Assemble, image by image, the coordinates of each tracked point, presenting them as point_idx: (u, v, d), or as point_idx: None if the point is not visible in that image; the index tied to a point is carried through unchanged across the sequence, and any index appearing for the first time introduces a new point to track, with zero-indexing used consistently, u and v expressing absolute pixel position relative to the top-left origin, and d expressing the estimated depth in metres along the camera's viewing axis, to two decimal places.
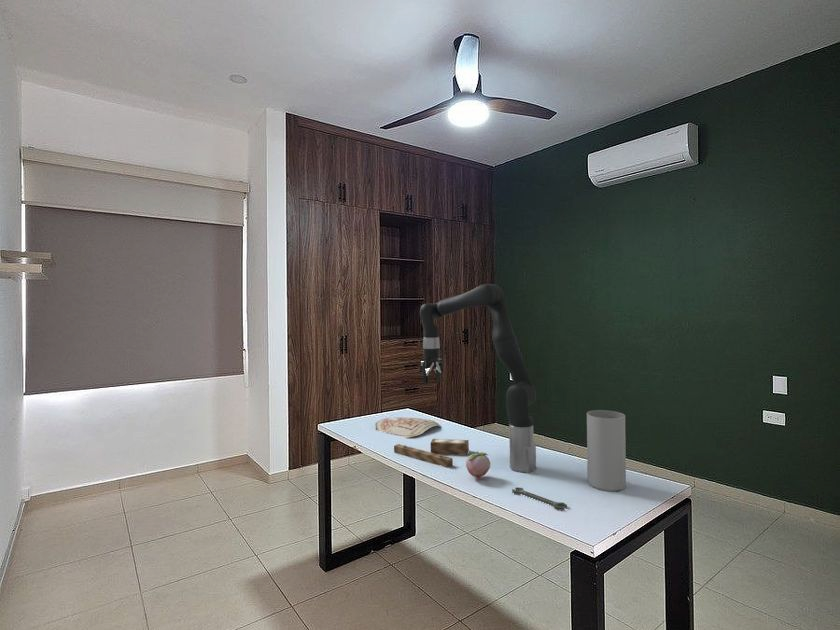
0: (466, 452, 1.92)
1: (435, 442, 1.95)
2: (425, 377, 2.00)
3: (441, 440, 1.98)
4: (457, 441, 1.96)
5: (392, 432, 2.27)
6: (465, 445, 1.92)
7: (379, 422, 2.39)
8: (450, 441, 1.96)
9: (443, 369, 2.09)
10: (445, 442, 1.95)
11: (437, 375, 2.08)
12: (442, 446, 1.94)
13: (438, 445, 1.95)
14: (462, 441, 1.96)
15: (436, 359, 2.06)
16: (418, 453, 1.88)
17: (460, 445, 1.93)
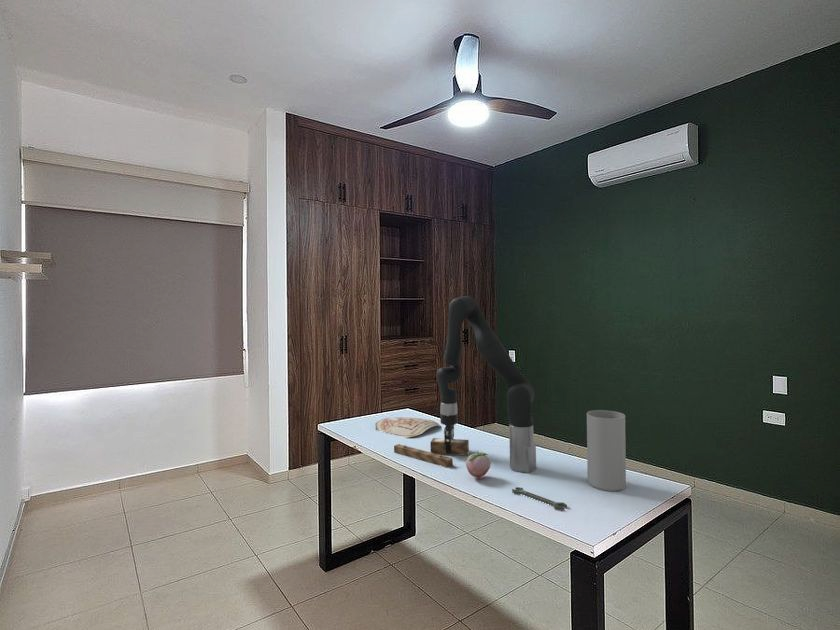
0: (466, 452, 1.92)
1: (435, 442, 1.96)
2: None
3: (441, 439, 1.98)
4: (457, 441, 1.96)
5: (392, 432, 2.27)
6: (465, 445, 1.92)
7: (379, 422, 2.39)
8: None
9: (444, 443, 1.91)
10: None
11: None
12: (442, 445, 1.94)
13: (438, 444, 1.95)
14: (462, 441, 1.96)
15: None
16: (418, 453, 1.88)
17: (460, 445, 1.93)
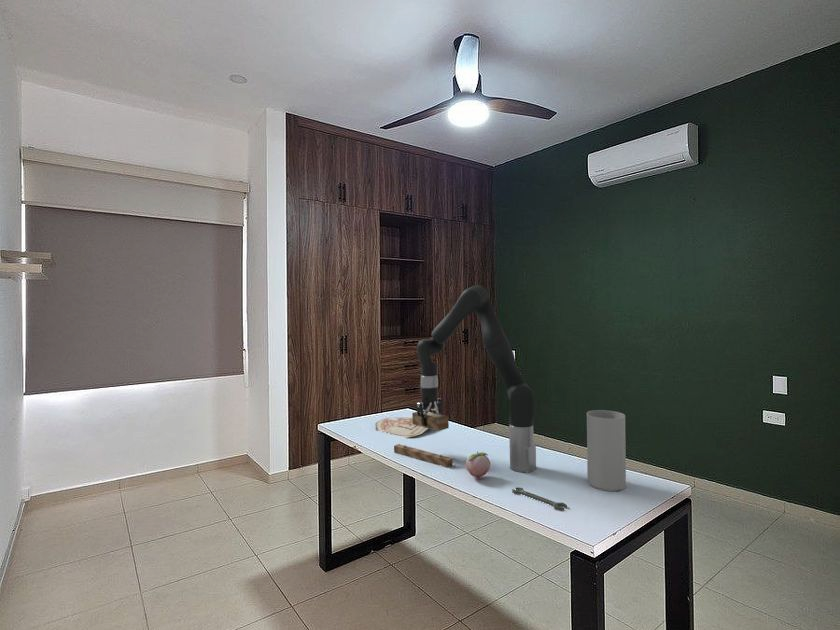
0: (437, 427, 1.85)
1: (416, 413, 1.95)
2: None
3: (424, 412, 1.96)
4: (435, 415, 1.90)
5: (392, 432, 2.27)
6: (437, 419, 1.85)
7: (379, 422, 2.39)
8: (429, 414, 1.92)
9: (417, 414, 1.89)
10: None
11: None
12: (420, 417, 1.93)
13: (417, 415, 1.94)
14: (439, 416, 1.89)
15: None
16: (418, 453, 1.88)
17: (433, 419, 1.87)
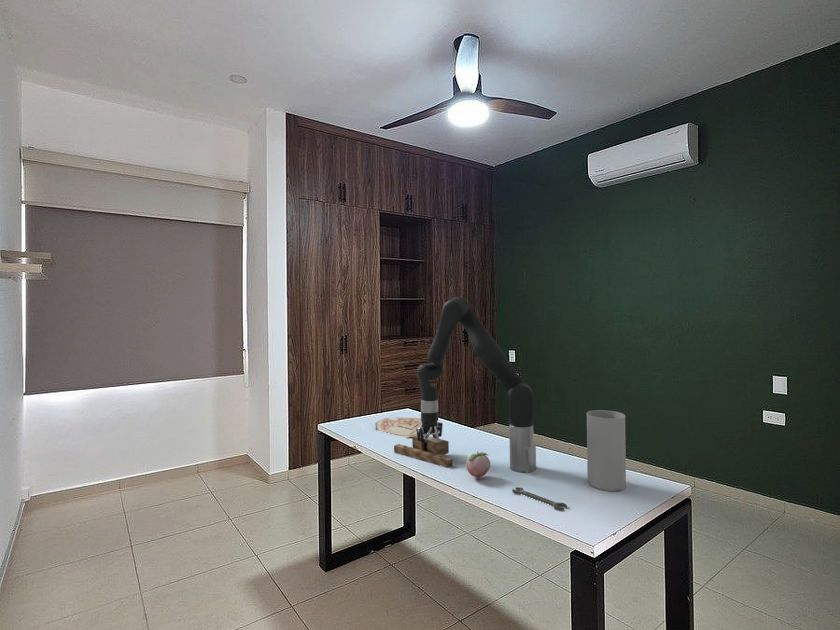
0: (438, 452, 1.85)
1: (416, 437, 1.95)
2: None
3: None
4: (435, 440, 1.90)
5: (392, 432, 2.27)
6: (437, 445, 1.86)
7: (379, 422, 2.39)
8: (429, 439, 1.92)
9: None
10: None
11: None
12: (420, 442, 1.93)
13: (417, 440, 1.94)
14: (439, 441, 1.89)
15: None
16: (418, 453, 1.88)
17: (433, 444, 1.87)
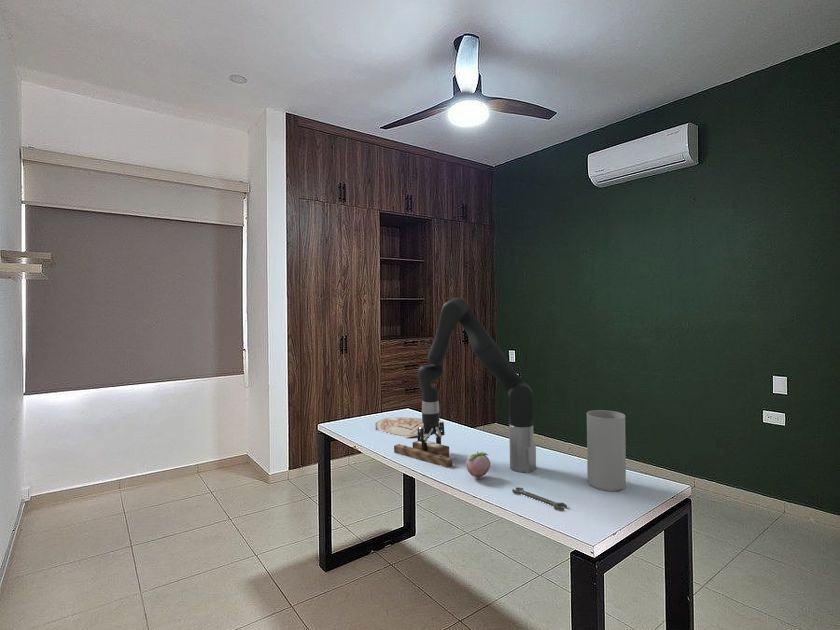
0: None
1: (416, 443, 1.95)
2: None
3: None
4: (436, 445, 1.90)
5: (392, 432, 2.27)
6: (438, 450, 1.86)
7: (379, 422, 2.39)
8: (430, 444, 1.92)
9: None
10: None
11: None
12: (421, 447, 1.93)
13: (418, 445, 1.94)
14: (440, 446, 1.89)
15: None
16: (418, 453, 1.88)
17: (434, 450, 1.87)
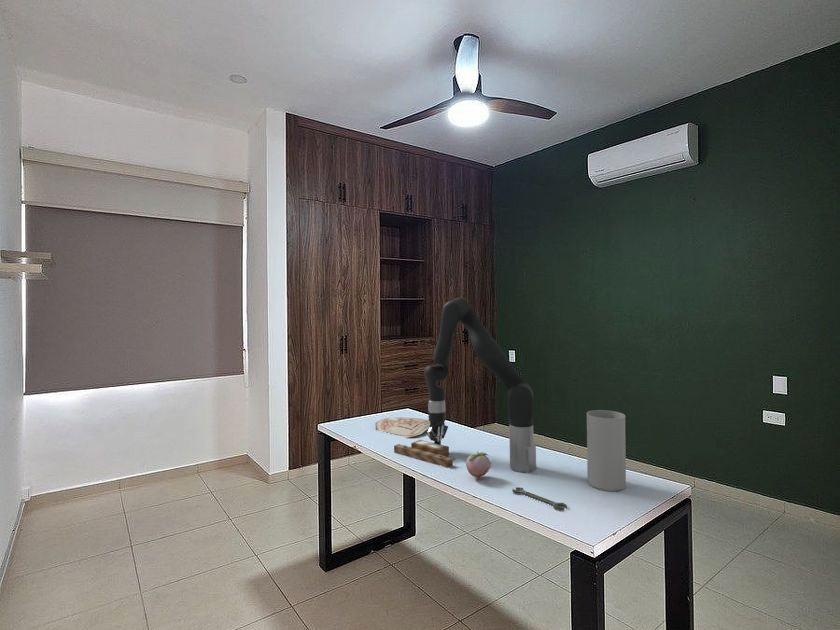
0: None
1: (415, 443, 1.95)
2: None
3: (423, 442, 1.95)
4: (435, 446, 1.90)
5: (392, 432, 2.27)
6: (438, 451, 1.86)
7: (379, 422, 2.39)
8: (429, 444, 1.92)
9: (430, 439, 1.95)
10: (424, 445, 1.92)
11: None
12: (420, 448, 1.92)
13: (417, 446, 1.93)
14: (440, 446, 1.89)
15: None
16: (418, 453, 1.88)
17: (434, 450, 1.87)
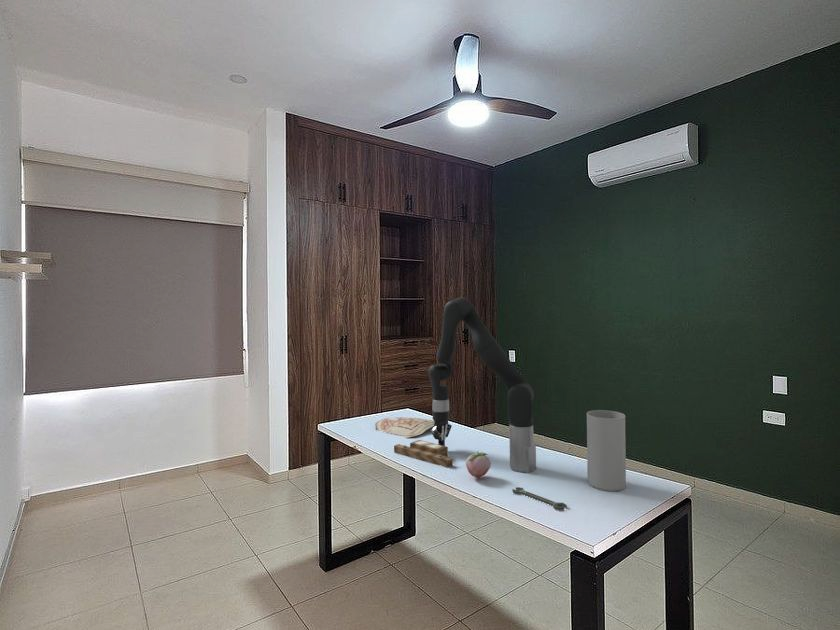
0: None
1: (414, 443, 1.94)
2: None
3: (422, 442, 1.95)
4: (434, 446, 1.90)
5: (392, 432, 2.27)
6: (437, 451, 1.85)
7: (379, 422, 2.39)
8: (428, 445, 1.92)
9: None
10: (422, 445, 1.92)
11: None
12: (419, 448, 1.92)
13: (416, 446, 1.93)
14: (438, 447, 1.89)
15: None
16: (418, 453, 1.88)
17: (433, 450, 1.87)
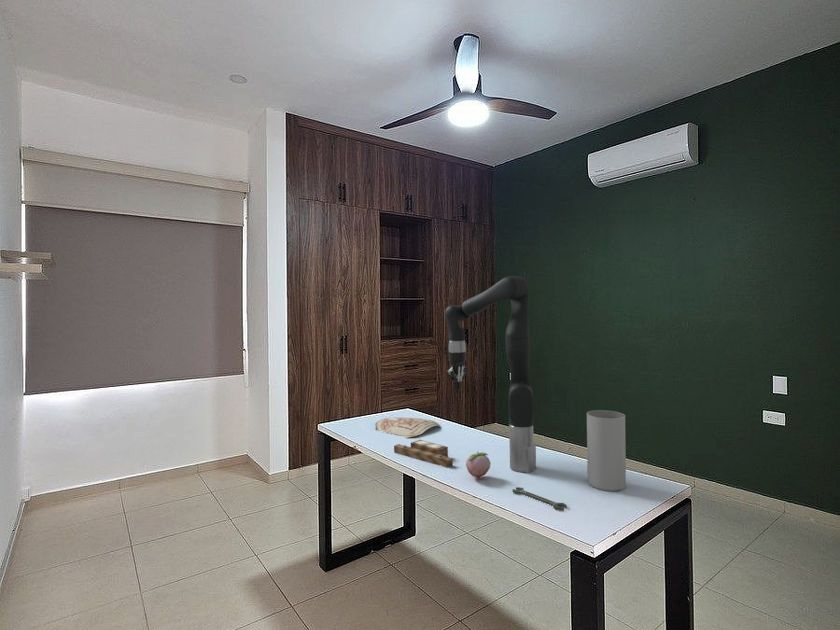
0: None
1: (414, 443, 1.95)
2: None
3: (423, 442, 1.95)
4: (434, 446, 1.90)
5: (392, 432, 2.27)
6: (436, 451, 1.86)
7: (379, 422, 2.39)
8: (428, 444, 1.92)
9: (451, 379, 1.96)
10: (423, 444, 1.92)
11: None
12: (419, 448, 1.92)
13: (416, 446, 1.94)
14: (438, 446, 1.89)
15: None
16: (418, 453, 1.88)
17: (433, 450, 1.87)
